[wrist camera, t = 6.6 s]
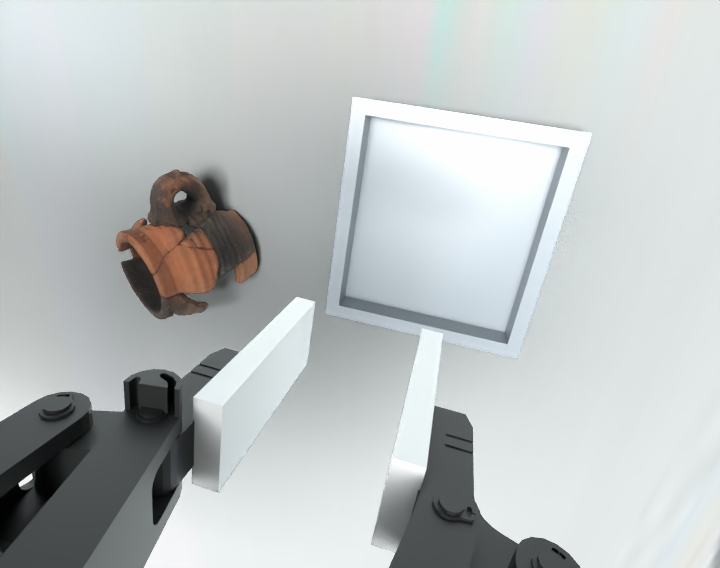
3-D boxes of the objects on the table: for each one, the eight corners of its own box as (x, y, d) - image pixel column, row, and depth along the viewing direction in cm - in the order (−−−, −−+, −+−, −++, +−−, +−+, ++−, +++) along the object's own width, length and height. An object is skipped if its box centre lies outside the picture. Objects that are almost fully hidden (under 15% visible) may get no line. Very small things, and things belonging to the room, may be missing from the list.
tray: (333, 302, 36) (325, 313, 34) (360, 98, 30) (352, 96, 28) (513, 343, 34) (517, 359, 32) (581, 132, 28) (592, 133, 26)
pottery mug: (269, 303, 38) (183, 349, 32) (208, 264, 43) (125, 299, 37) (254, 169, 31) (144, 201, 26) (184, 143, 36) (80, 164, 31)
